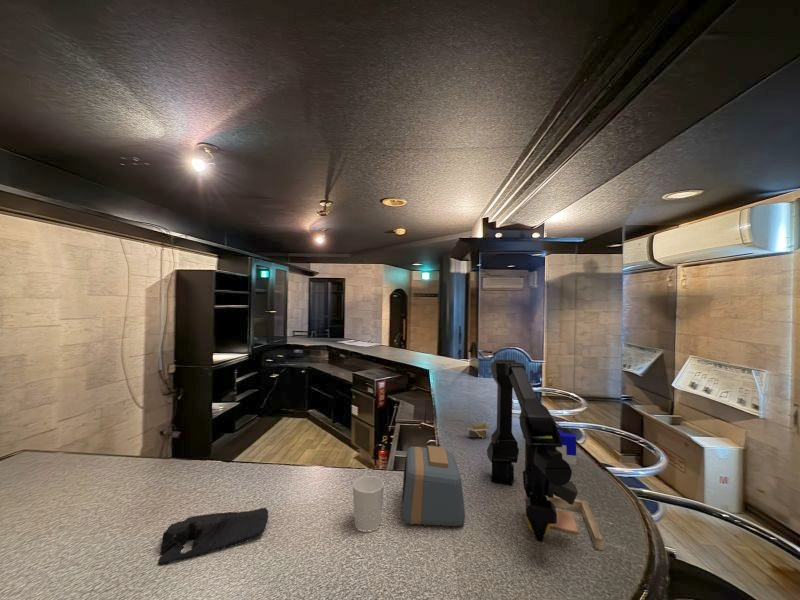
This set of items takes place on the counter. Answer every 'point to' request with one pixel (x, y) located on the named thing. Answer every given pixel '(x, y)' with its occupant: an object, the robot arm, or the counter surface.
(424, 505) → the grey taped box
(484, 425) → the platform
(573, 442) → the puzzle toy
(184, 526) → the black flat piece
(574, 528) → the wooden corner frame
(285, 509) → the counter surface
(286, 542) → the counter surface
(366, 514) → the white cup
